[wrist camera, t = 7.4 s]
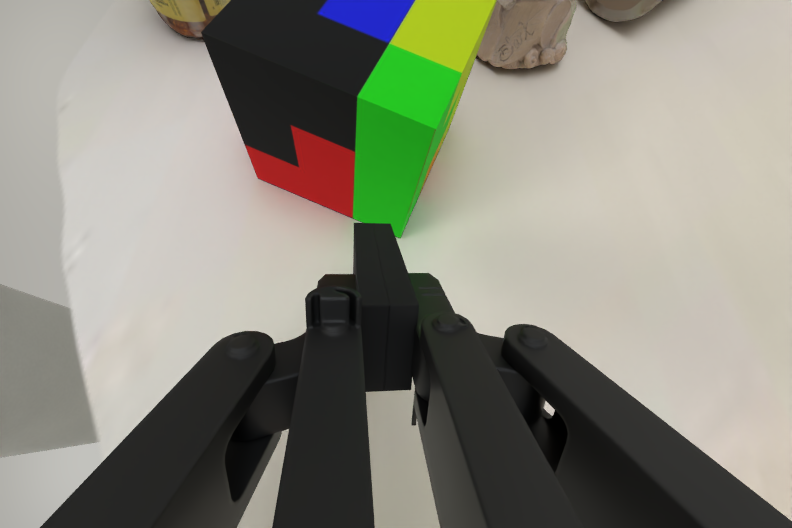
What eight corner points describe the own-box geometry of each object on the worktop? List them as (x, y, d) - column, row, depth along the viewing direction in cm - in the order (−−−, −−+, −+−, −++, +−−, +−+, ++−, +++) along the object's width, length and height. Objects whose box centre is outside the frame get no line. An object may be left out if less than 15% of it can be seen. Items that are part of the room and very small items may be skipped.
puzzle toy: (326, 76, 27) (315, -91, 18) (449, 127, 27) (502, -16, 18) (257, 178, 24) (200, 32, 14) (400, 238, 23) (436, 129, 14)
